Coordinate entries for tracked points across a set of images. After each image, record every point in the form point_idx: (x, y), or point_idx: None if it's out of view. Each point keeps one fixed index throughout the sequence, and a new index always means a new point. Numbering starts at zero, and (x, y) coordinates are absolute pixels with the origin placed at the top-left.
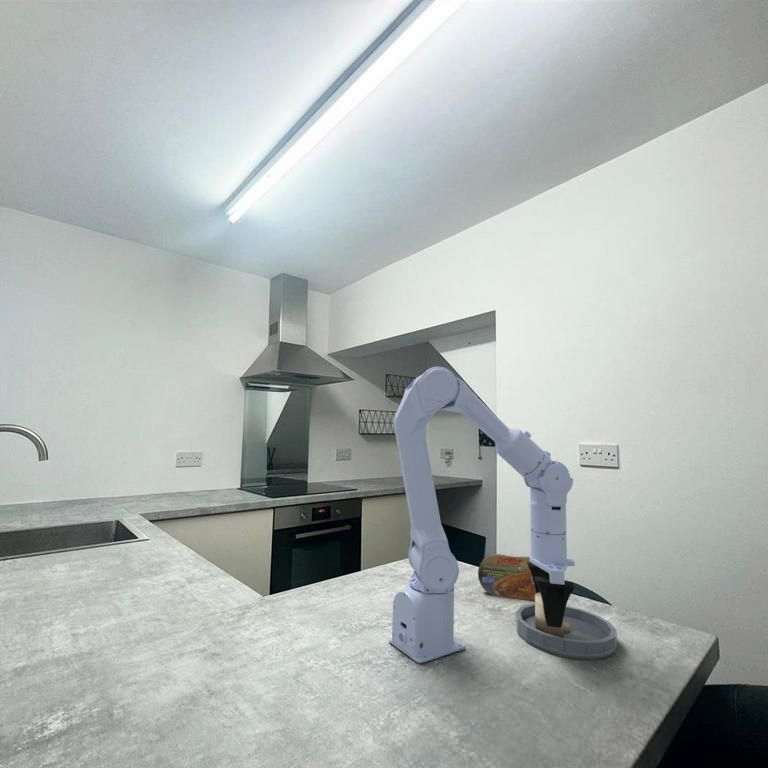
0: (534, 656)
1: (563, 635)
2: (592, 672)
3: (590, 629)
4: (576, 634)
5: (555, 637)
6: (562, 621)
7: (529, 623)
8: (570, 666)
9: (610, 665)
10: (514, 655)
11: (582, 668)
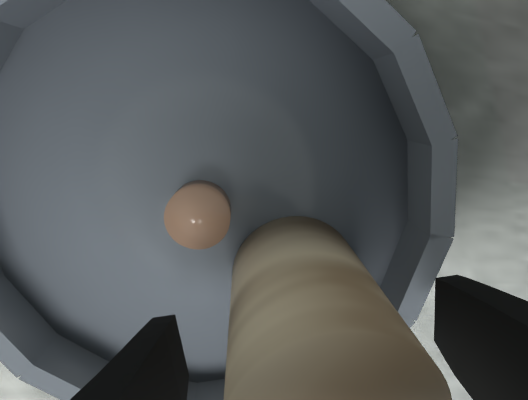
0: (430, 311)
1: (319, 225)
2: (504, 120)
3: (118, 69)
4: (226, 155)
5: (431, 275)
6: (487, 285)
7: (193, 349)
8: (475, 197)
9: (427, 30)
10: (440, 367)
11: (480, 154)
